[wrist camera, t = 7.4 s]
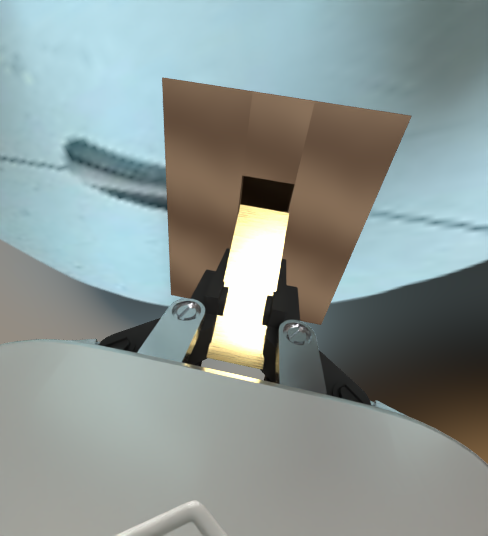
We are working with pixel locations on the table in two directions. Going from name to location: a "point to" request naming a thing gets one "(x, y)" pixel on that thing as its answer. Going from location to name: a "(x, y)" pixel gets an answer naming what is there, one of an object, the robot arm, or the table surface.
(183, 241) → the coin box
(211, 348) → the golden flat plank
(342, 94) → the table surface
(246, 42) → the table surface
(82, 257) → the table surface
